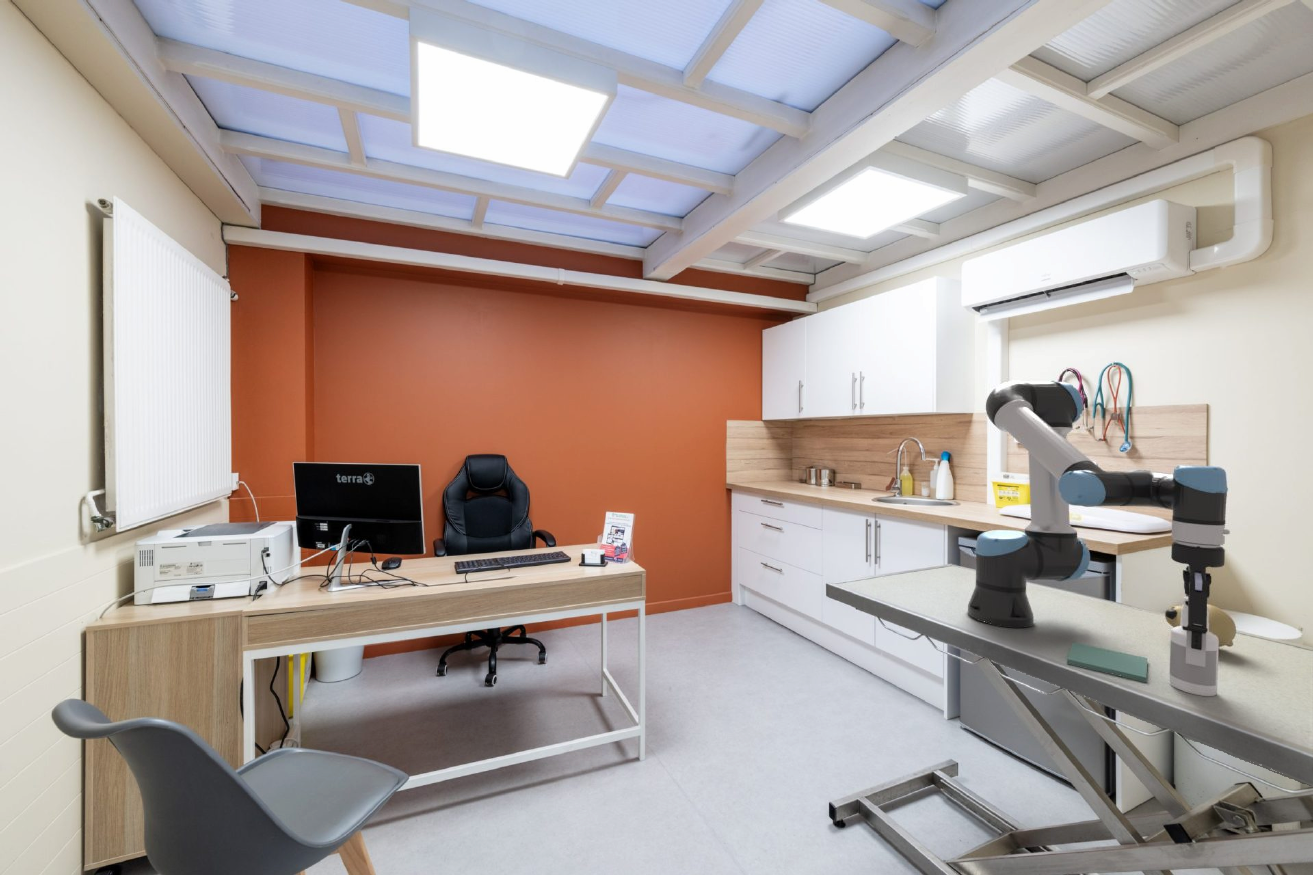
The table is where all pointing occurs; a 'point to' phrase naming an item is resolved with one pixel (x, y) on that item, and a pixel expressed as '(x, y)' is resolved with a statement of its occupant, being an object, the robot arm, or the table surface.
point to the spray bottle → (1188, 674)
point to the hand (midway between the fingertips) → (1194, 657)
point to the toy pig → (1217, 622)
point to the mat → (1108, 661)
